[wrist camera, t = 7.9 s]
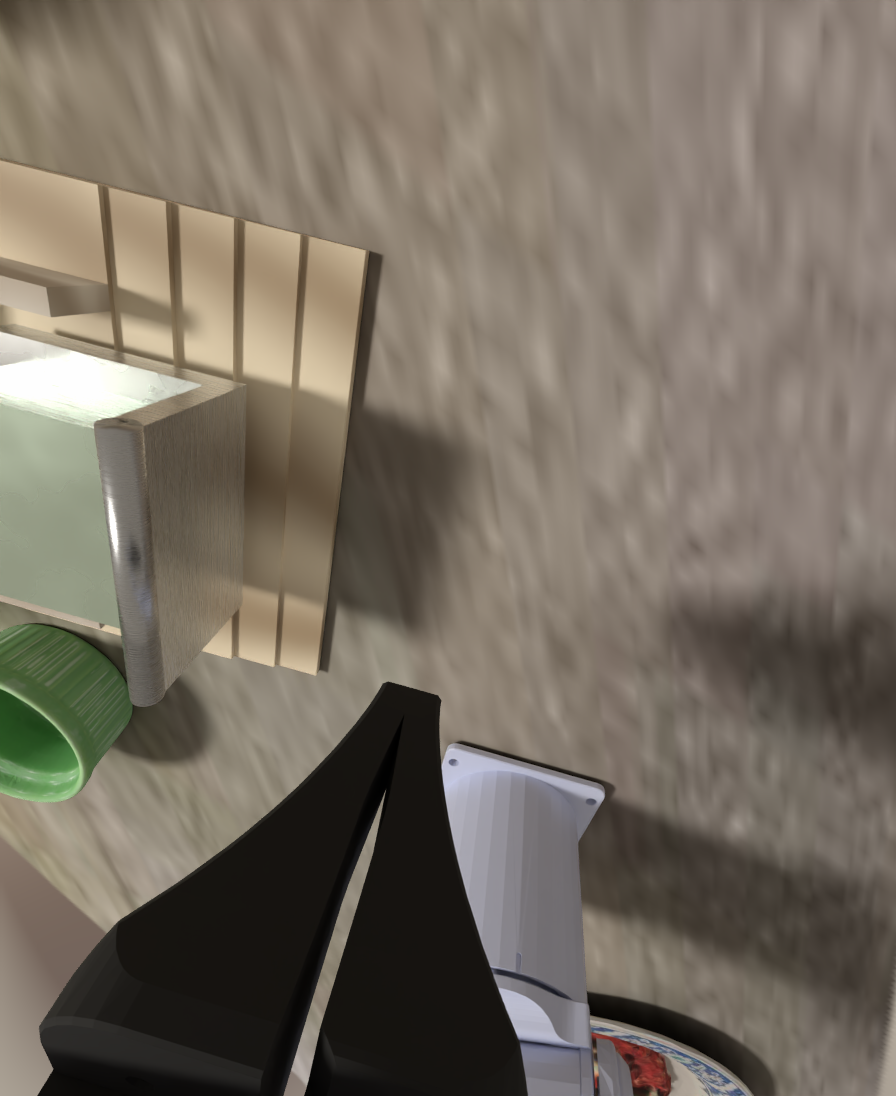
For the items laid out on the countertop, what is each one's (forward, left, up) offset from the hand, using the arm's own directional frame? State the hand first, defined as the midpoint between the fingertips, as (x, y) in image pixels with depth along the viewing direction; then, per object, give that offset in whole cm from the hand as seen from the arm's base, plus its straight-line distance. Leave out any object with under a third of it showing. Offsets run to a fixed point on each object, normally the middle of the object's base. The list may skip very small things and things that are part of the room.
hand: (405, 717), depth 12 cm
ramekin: (-15, +19, -10) cm, 26 cm away
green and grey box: (0, +12, -8) cm, 14 cm away
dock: (0, +12, -9) cm, 16 cm away
